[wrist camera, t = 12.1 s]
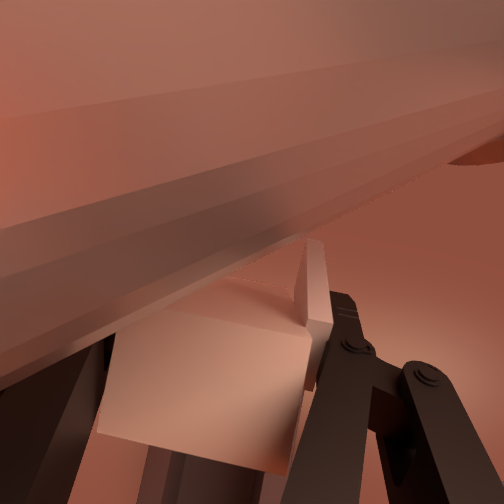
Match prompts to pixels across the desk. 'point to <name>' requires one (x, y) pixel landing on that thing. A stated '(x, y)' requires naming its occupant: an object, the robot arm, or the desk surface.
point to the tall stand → (207, 480)
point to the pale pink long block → (212, 376)
